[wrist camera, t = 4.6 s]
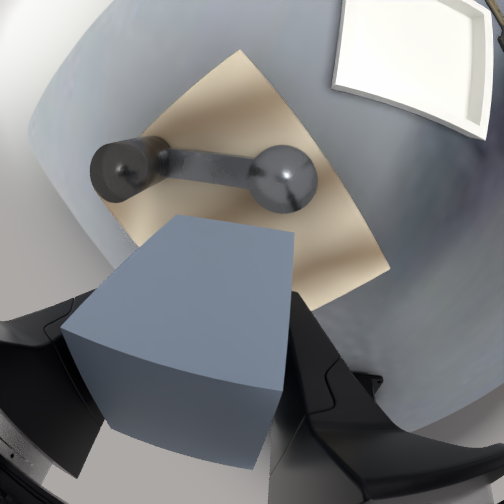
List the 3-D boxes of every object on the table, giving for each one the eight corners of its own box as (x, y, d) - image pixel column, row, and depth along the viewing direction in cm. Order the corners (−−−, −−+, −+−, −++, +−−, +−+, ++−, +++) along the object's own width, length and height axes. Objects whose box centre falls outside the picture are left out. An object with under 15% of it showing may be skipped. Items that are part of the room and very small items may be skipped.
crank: (322, 151, 17) (331, 162, 13) (309, 214, 19) (312, 245, 15) (132, 129, 18) (89, 136, 14) (130, 185, 20) (91, 205, 16)
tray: (468, 136, 16) (485, 140, 13) (330, 88, 16) (335, 84, 14) (475, 17, 10) (490, 11, 8) (345, -35, 11) (349, -50, 9)
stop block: (275, 326, 11) (252, 469, 6) (178, 306, 11) (111, 428, 6) (294, 232, 9) (282, 390, 4) (176, 214, 9) (59, 327, 4)
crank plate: (385, 259, 21) (390, 269, 20) (234, 337, 27) (230, 348, 26) (244, 54, 16) (239, 48, 15) (103, 184, 22) (93, 189, 21)
